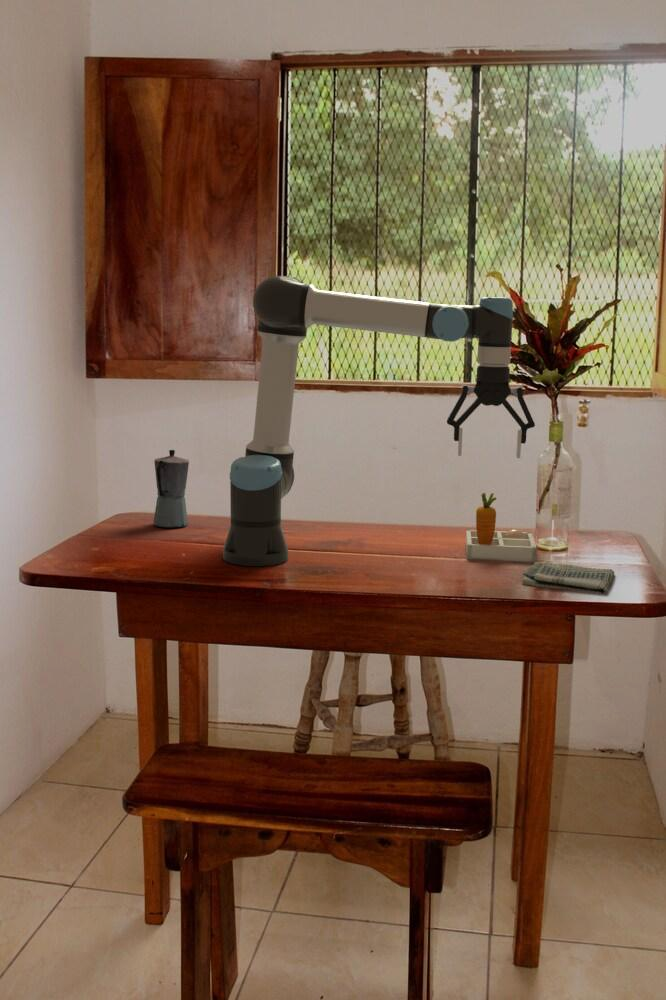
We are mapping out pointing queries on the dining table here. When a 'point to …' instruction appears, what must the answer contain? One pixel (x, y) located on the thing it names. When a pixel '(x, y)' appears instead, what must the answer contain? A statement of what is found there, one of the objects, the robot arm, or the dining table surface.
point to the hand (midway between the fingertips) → (488, 456)
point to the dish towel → (569, 577)
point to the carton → (501, 548)
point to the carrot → (485, 521)
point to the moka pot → (171, 491)
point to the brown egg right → (515, 534)
